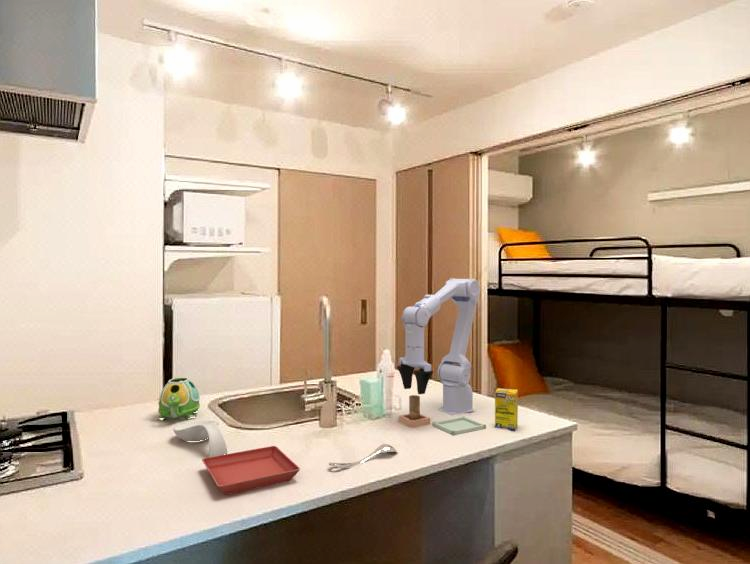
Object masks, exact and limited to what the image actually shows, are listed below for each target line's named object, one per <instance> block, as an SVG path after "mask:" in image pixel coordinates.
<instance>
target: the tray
mask: <svg viewBox="0 0 750 564" xmlns="http://www.w3.org/2000/svg"><path fill="white" fill-rule="evenodd" d="M432 427H433V428H436V429H438V430H441V431H443V432H445V433H447V434H449V435H451V436H459V435H463V434H467V433H473V432H477V431H482V430H487V425H486V424H485V423H482V422H479V421H476V420H474V419H471V418H469V417H466V416H460V417H453V418H449V419H444V420H437V421H432Z"/></svg>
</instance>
